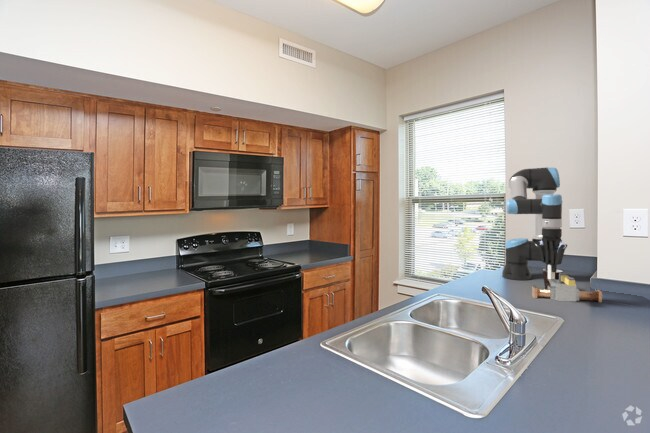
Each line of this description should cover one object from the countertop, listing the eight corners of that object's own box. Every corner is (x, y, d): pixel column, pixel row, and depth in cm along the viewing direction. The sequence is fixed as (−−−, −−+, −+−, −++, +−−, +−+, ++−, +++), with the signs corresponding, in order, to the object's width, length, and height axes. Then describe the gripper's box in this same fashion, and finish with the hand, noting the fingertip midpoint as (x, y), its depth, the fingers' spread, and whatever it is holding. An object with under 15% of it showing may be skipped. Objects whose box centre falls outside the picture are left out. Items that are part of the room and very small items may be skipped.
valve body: (531, 294, 164) (531, 278, 164) (595, 298, 155) (596, 281, 155) (535, 299, 157) (535, 282, 157) (603, 303, 148) (603, 285, 148)
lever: (558, 280, 158) (558, 272, 158) (565, 280, 157) (566, 272, 157) (567, 287, 146) (567, 278, 146) (576, 287, 145) (576, 279, 145)
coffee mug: (538, 288, 174) (538, 269, 173) (548, 286, 177) (549, 268, 177) (562, 294, 163) (562, 274, 163) (572, 291, 167) (573, 272, 166)
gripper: (532, 227, 157) (532, 276, 158) (560, 229, 145) (559, 282, 146) (543, 226, 160) (543, 275, 161) (572, 228, 147) (571, 280, 148)
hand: (551, 278), depth 153 cm, fingers closed
